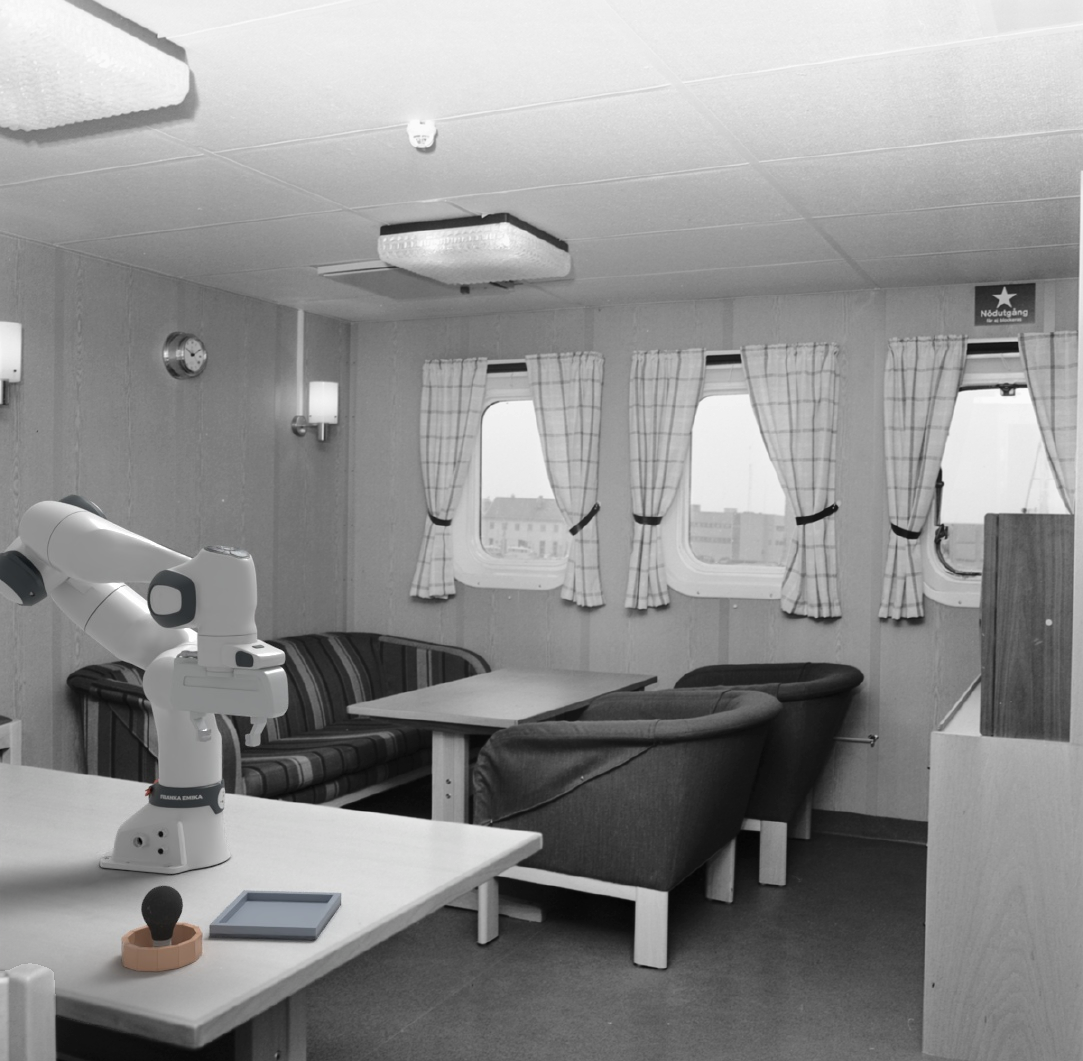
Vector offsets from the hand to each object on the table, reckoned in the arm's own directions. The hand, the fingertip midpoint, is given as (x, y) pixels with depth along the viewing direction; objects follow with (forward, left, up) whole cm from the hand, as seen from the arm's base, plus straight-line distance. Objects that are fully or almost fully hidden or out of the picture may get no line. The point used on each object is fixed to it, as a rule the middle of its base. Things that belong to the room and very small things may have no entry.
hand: (228, 743), depth 178 cm
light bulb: (-5, -13, -28) cm, 31 cm away
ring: (-5, -13, -28) cm, 31 cm away
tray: (+7, +3, -28) cm, 29 cm away
